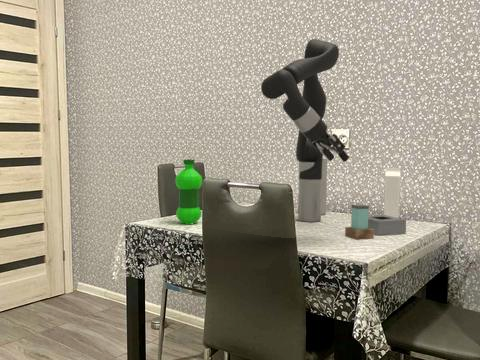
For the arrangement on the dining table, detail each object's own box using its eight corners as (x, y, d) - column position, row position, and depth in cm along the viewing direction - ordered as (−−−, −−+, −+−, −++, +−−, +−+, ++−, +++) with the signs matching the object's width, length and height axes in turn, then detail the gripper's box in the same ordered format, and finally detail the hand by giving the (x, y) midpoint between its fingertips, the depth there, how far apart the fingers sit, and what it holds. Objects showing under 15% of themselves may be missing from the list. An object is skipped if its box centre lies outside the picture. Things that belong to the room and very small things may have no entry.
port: (378, 235, 165) (378, 221, 165) (357, 229, 177) (358, 216, 176) (405, 233, 170) (406, 219, 169) (384, 227, 181) (384, 214, 181)
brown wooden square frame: (356, 239, 158) (356, 230, 158) (345, 235, 165) (345, 227, 164) (373, 238, 161) (373, 229, 161) (361, 234, 167) (361, 226, 167)
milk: (384, 218, 203) (385, 167, 202) (398, 219, 202) (400, 167, 200) (383, 220, 198) (385, 168, 196) (399, 221, 196) (400, 168, 194)
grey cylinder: (297, 211, 223) (298, 158, 221) (324, 211, 222) (326, 158, 220) (298, 215, 211) (299, 158, 209) (326, 215, 210) (328, 159, 208)
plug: (357, 238, 160) (358, 206, 159) (350, 236, 164) (351, 204, 163) (367, 237, 162) (368, 205, 161) (360, 235, 165) (361, 204, 164)
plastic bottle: (179, 225, 180) (179, 160, 178) (173, 221, 190) (173, 159, 188) (204, 224, 184) (204, 160, 182) (197, 220, 194) (198, 159, 192)
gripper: (329, 114, 146) (359, 151, 151) (306, 116, 159) (334, 151, 164) (313, 131, 144) (344, 168, 149) (291, 132, 157) (320, 166, 162)
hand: (339, 159), depth 157 cm, fingers open, 8 cm apart
